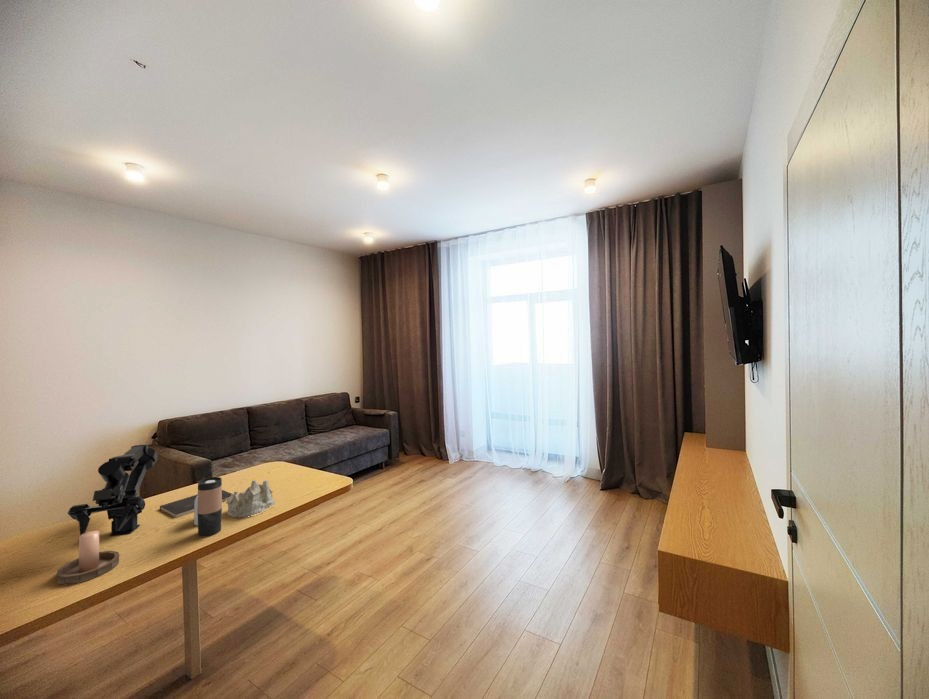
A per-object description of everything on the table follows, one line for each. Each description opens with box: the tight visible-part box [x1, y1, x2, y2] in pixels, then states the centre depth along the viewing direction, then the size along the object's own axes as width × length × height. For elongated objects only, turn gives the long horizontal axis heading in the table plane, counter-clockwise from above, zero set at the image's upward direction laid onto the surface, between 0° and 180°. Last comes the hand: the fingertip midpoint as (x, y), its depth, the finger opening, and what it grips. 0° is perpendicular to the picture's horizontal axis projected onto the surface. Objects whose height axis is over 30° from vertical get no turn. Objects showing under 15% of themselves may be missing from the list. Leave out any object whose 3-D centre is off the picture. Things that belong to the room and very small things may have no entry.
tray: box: [55, 550, 120, 585], centre depth 112 cm, size 14×14×2 cm
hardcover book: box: [159, 489, 232, 518], centre depth 161 cm, size 16×23×2 cm
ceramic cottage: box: [225, 479, 276, 518], centre depth 156 cm, size 16×16×15 cm
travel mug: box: [197, 476, 223, 538], centre depth 136 cm, size 8×8×20 cm
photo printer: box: [193, 496, 198, 526], centre depth 146 cm, size 10×4×12 cm, turn 12°
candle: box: [78, 530, 100, 573], centre depth 112 cm, size 4×4×11 cm
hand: (100, 533), depth 118 cm, fingers open, 9 cm apart
